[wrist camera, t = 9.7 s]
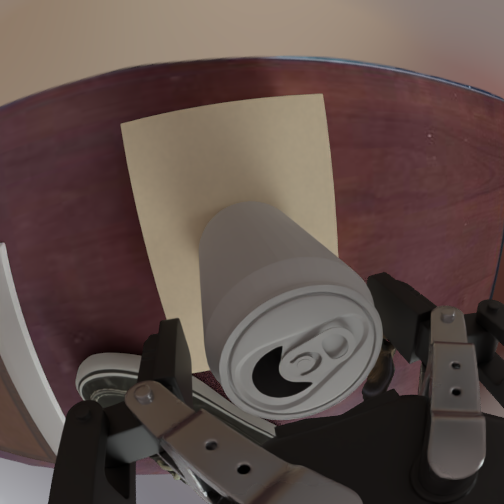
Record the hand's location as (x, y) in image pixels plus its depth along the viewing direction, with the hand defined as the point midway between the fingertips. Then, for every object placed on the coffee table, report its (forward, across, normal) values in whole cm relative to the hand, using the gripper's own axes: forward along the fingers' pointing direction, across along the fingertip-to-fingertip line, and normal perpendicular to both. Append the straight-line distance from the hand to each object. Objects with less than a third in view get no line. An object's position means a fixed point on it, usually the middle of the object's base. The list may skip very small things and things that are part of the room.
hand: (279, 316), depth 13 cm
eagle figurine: (+17, -14, +19) cm, 29 cm away
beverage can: (+9, 0, 0) cm, 9 cm away
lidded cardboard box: (+17, 0, 0) cm, 17 cm away
